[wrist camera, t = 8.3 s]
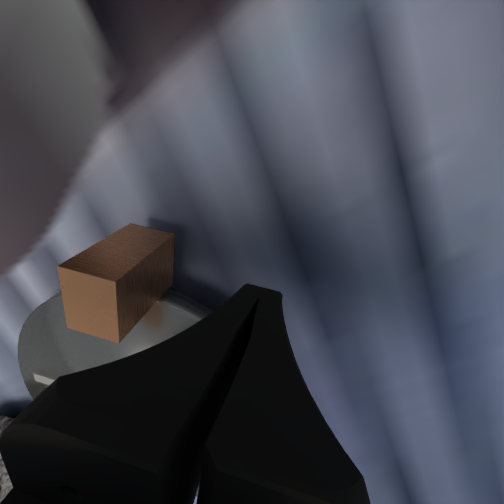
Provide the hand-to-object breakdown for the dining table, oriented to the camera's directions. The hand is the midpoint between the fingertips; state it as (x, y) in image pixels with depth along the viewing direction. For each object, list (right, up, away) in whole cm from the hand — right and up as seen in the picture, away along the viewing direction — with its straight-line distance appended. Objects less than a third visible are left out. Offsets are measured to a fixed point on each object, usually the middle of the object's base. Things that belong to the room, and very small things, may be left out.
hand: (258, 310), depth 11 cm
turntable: (-6, -5, +6) cm, 9 cm away
